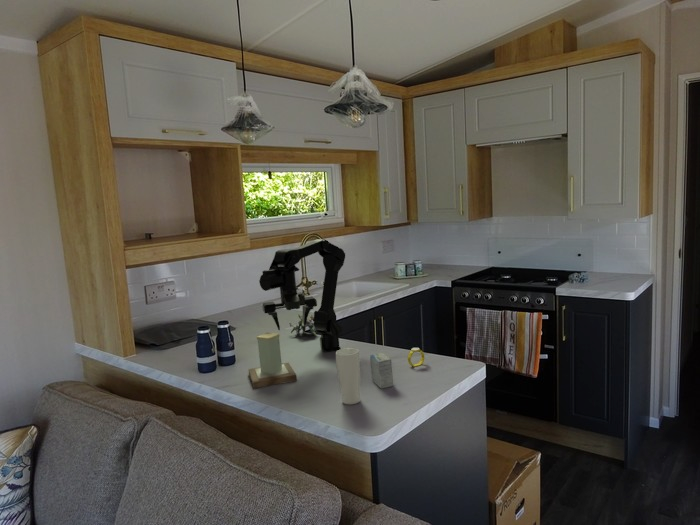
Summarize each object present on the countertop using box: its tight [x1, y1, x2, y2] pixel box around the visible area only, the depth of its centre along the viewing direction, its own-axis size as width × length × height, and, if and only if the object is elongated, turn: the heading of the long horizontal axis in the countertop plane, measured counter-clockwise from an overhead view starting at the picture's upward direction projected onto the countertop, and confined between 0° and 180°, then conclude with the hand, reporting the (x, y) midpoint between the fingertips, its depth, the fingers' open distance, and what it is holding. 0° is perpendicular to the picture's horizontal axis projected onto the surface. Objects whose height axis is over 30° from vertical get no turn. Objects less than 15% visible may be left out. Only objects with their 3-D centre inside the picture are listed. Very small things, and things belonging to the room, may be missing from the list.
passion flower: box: [289, 314, 317, 337], centre depth 227 cm, size 11×11×12 cm
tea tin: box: [256, 332, 283, 374], centre depth 177 cm, size 5×5×12 cm
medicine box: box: [369, 352, 394, 389], centre depth 164 cm, size 8×4×9 cm, turn 17°
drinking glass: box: [335, 347, 361, 405], centre depth 152 cm, size 7×7×15 cm
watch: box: [407, 347, 426, 368], centre depth 179 cm, size 6×3×6 cm, turn 118°
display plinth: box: [248, 362, 298, 389], centre depth 178 cm, size 14×14×2 cm
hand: (291, 328), depth 190 cm, fingers open, 9 cm apart
